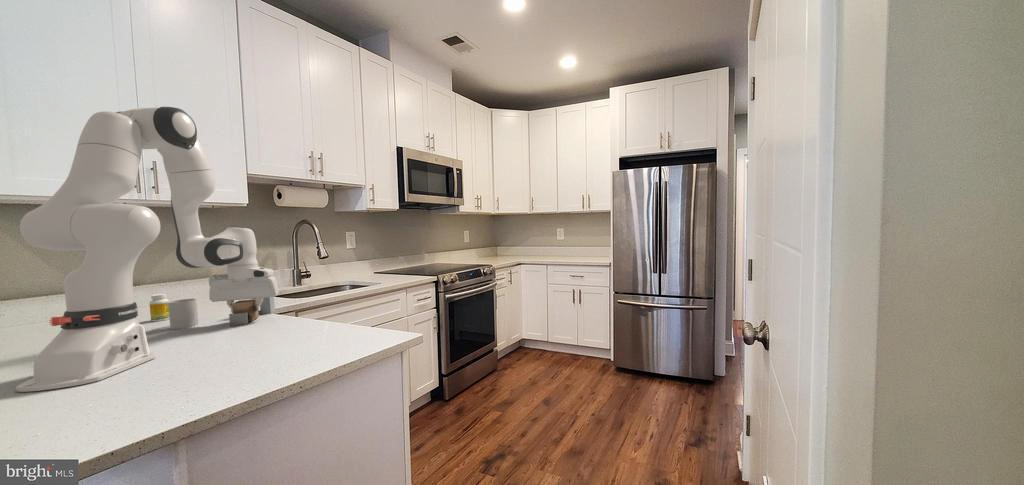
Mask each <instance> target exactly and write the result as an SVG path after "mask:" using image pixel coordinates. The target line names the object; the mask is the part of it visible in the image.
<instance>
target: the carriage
mask: <svg viewBox="0 0 1024 485" xmlns="http://www.w3.org/2000/svg"><path fill="white" fill-rule="evenodd" d="M257 304H258V301H257V299H242V300H236V301H234V303H233V313H244V312H247V314H249V322H253V321H254V320H257V319H258V318H259V317H260V316H259V314H258V311H254V306H256V305H257ZM233 313H232V314H233Z"/></svg>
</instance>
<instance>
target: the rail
mask: <svg viewBox="0 0 1024 485" xmlns="http://www.w3.org/2000/svg"><path fill="white" fill-rule="evenodd" d="M258 314H259V315H260V314H261V308H260V311H258ZM261 315H262V314H261ZM261 315H260V316H261ZM228 316H229V326H230V327H233V326H232V325H237V326H243V325H242V324H247V325H248V324H249V322H250V321H249V314H247V312H244V313H228ZM248 321H249V322H248Z"/></svg>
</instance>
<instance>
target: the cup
mask: <svg viewBox="0 0 1024 485" xmlns="http://www.w3.org/2000/svg"><path fill="white" fill-rule="evenodd" d="M168 306H169V318H170V319H169V326H170V329H171V330H174V329H176V330H183V329H182V328H185V329H189V328H188V327H190V328H193V327H192V326H194V327H196V326H195V325H197V326H198V325H199V315H198V314H199V313H198V301H197V298H184V299H177V300H172V301H169V302H168Z"/></svg>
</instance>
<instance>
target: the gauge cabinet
mask: <svg viewBox="0 0 1024 485" xmlns="http://www.w3.org/2000/svg"><path fill="white" fill-rule="evenodd" d="M255 299H257V298H255ZM258 302H259V301H258ZM275 305H276V304H275V297H267V298H263V302H262V303H261V305H260V308H261V315H267V314H272V313H274V312H276V309H275Z"/></svg>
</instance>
